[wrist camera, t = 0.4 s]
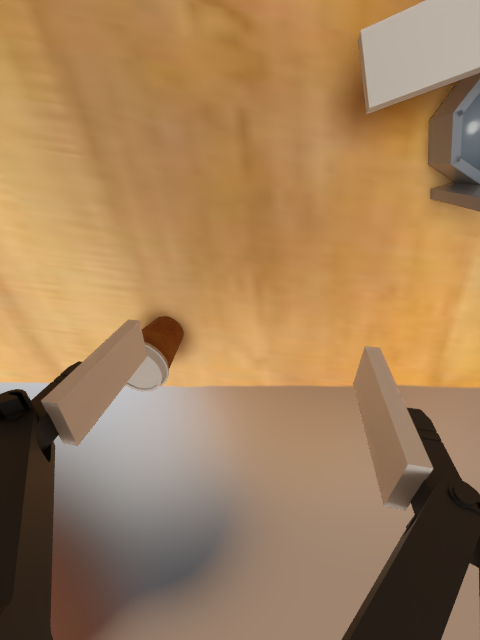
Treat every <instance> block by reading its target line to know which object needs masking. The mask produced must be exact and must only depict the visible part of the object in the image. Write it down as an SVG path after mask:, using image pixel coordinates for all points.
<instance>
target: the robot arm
mask: <svg viewBox="0 0 480 640" xmlns="http://www.w3.org/2000/svg"><path fill="white" fill-rule="evenodd" d="M146 357H147V353H146V348H145V343H144V338H143V334H142V329H141V324H140V321H136V320H127V321H126V322H125V323H124V324H123V325H122V326H121V327H120V328H119V329H118V330H117V331H116V332H115V333H113V334H112V335H111V336H110V337H109V338H108V339H107V340H106V341H105V342H104V343H103V344H102V345H101V346H99V347H98V348H97V349H96V350H95V351H94V352H93V353H92V354H91V355H90V356H89V357H88V358H87V359H85V360H84V361H83V362H77V363H75V364H73V365H72V366H70V367H68V368H67V369H66V370H65V371H64V372H63V373H61V374H60V376H58V377H57V378H56V379H55V380H54V382H51V383H50V384H49V385H48V386H47V387H46V388H45V389H43V390H42V391H41V392H40V393H39V394H38V395H37V396H36V397H35V398H34V399H32V400H30V399H29V397H28V395H27V393H26V392H25V391H23V390H19V389H15V390H11V391H7V392H5V393H2V394H0V640H53V638H52V634H51V627H50V618H51V581H52V580H51V579H52V543H53V505H54V468H55V445H54V442H53V441H54V439H55V438H56V437H57V436H58V435H59V436H60V438H61V440H62V442H63V443H66V444H71V445H76V446H78V445H79V444H80V442H81V441H82V440H83V438H84V437H85V436H86V435H87V433H88V432H89V431H90V429H91V428H92V427H93V426H94V424H95V423H96V422H97V421H98V419H99V418H100V416H101V415H102V414H103V413H104V411H105V410H106V409H107V408H108V406H109V405H110V404H111V402H112V401H113V400H114V399H115V397H116V396H117V395H118V393H119V392H120V391H121V390H122V388H123V387H124V386H125V384H126V383H127V382H128V381H129V379H130V378H131V377H132V375H133V374H134V373H135V372H136V370H137V369H138V368H139V366H140V365H141V364H142V363H143V361H144V360H145V359H146ZM353 385H354V389H355V393H356V397H357V401H358V405H359V408H360V413H361V417H362V421H363V425H364V429H365V433H366V437H367V441H368V445H369V449H370V453H371V457H372V461H373V465H374V469H375V473H376V477H377V480H378V485H379V489H380V492H381V497H382V500H383V505H384V506H385V507H390V508H395V509H400V510H406V509H407V507H408V506H409V504H410V503H411V504H412V507H413V510H414V513H415V515H414V517H413V518H412V519H411V521H410V522H409V524H408V525H407V526H406V530H405V532H404V534H403V535H402V537H401V539H400V541H399V542H398V544H397V546H396V547H395V549H394V551H393V552H392V554H391V556H390V558H389V559H388V561H387V563H386V564H385V566H384V568H383V570H382V571H381V573H380V575H379V576H378V578H377V580H376V582H375V583H374V585H373V587H372V588H371V590H370V592H369V594H368V595H367V597H366V599H365V600H364V602H363V604H362V606H361V607H360V609H359V611H358V613H357V614H356V616H355V618H354V619H353V621H352V623H351V624H350V626H349V628H348V630H347V631H346V633H345V635H344V637H343V638H342V640H441V638H442V635H443V632H444V630H445V627H446V624H447V622H448V619H449V616H450V614H451V611H452V608H453V606H454V603H455V600H456V598H457V595H458V592H459V589H460V587H461V584H462V581H463V579H464V576H465V573H466V571H467V568H468V565H469V563H471V564H473V565H475V566H477V567H478V568H479V590H480V494H479V493H478V492H477V491H476V490H475V489H474V488H472V487H471V486H470V485H469V484H467V483H466V482H464V481H462V479H461V478H460V476H459V474H458V472H457V470H456V468H455V466H454V464H453V462H452V460H451V458H450V456H449V454H448V452H447V450H446V449H445V447H444V445H443V443H441V439H440V437H439V435H438V433H436V429H435V427H434V425H433V423H432V421H431V420H430V419H429V418H428V417H427V416H426V415H425V414H424V413H423V412H422V411H421V410H419V409H413V408H406V406H405V403H404V401H403V399H402V397H401V394H400V392H399V390H398V387H397V385H396V383H395V381H394V378H393V376H392V374H391V372H390V369H389V367H388V365H387V363H386V360H385V358H384V356H383V354H382V351H381V349H380V348H376V347H367V346H365V348H364V351H363V354H362V357H361V360H360V364H359V367H358V370H357V373H356V376H355V380H354V383H353ZM479 593H480V592H479ZM479 595H480V594H479Z"/></svg>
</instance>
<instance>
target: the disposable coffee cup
mask: <svg viewBox="0 0 480 640" xmlns="http://www.w3.org/2000/svg"><path fill="white" fill-rule="evenodd" d="M142 334H143V338H144V343H145V348H146V353H147V357H146V359H145V360H144V361H143V363H142V364H141V365H140V366H139V368H138V369H137V370H136V372H135V373H134V374H133V375H132V377H131V378H130V379H129V381H128V382H127V383H126V384H125V385H126V386H128V387H130V388H132V389H135V390H138V391H152V390H154V389H156V388H157V387H159V386H161V385H163V384H164V383H165V382H166V380H167V378H168V375H169V368H170V366H171V363H172V361H173V358H174V356H175V354H176V352H177V349H178V347H179V345H180V342H181V340H182V338H183V330H182V328H181V326H180V324H179V323H178V322H177V321H175V320H174V319H172V318H169V317H159V318H157V319H156V320H155V321H153V322H152V323H150V324H149V325H148V326H146V327H145V328H144V329H142Z"/></svg>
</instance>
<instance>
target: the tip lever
mask: <svg viewBox="0 0 480 640" xmlns="http://www.w3.org/2000/svg"><path fill="white" fill-rule="evenodd" d="M358 45H359V54H360V63H361V72H362V81H363V90H364V99H365V108H366V114H369V113H372V112H374V111H377V110H380V109H383V108H385V107H388V106H391V105H393V104H396V103H399V102H402V101H404V100H407V99H410V98H413V97H415V96H418V95H421V94H423V93H426V92H429V91H432V90H434V89H437V88H440V87H443V86H445V85H448V84H451V83H453V82H456V81H459V80H462V79H464V78H467V77H470V76H473V75H475V74H478V73H480V0H426V1H423V2H421V3H419V4H417V5H415V6H413V7H410V8H408V9H406V10H404V11H402V12H399V13H397V14H395V15H393V16H391V17H388V18H386V19H384V20H382V21H380V22H378V23H375V24H373V25H371V26H369V27H367V28H364V29H362V30H361V31H360V35H359V39H358Z"/></svg>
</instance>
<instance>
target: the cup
mask: <svg viewBox="0 0 480 640" xmlns="http://www.w3.org/2000/svg"><path fill="white" fill-rule="evenodd" d="M428 164H429V165H430V166H432V167H433V168H435V169H436V170H438V171H439V172H440V173H442V174H443V175H445V176H446V177H448V178H449V179H451V180H452V181H454V182H453V183H449V184H446V185H442V186H438V187H435V188H431V197H430V199H433V200H437V201H441V202H445V203H449V204H453V205H457V206H461V207H465V208H468V209H472V210H476V211H480V73H478V74H475V75H473V76H470V77H467V78H464V79H462V80H459V82H458V83H457V84H456V86H455V87H454V88H453V90H452V91H451V92H450V94H449V95H448V96H447V98H446V99H445V100H444V102H443V103H442V104H441V106H440V107H439V108H438V110H437V111H436V112H435V114H434V115H433V116H432V118H431V119H430V120H429V153H428Z"/></svg>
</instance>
